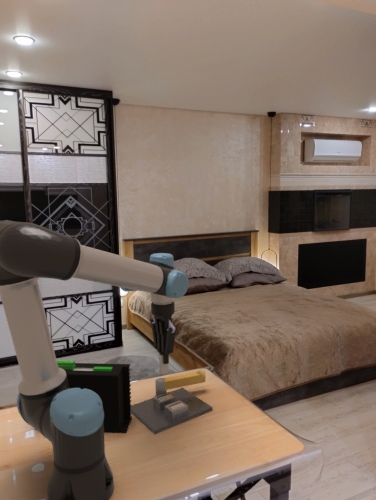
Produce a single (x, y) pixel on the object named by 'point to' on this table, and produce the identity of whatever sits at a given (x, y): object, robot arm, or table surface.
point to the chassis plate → (161, 418)
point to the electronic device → (104, 389)
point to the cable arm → (178, 381)
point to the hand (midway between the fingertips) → (164, 371)
